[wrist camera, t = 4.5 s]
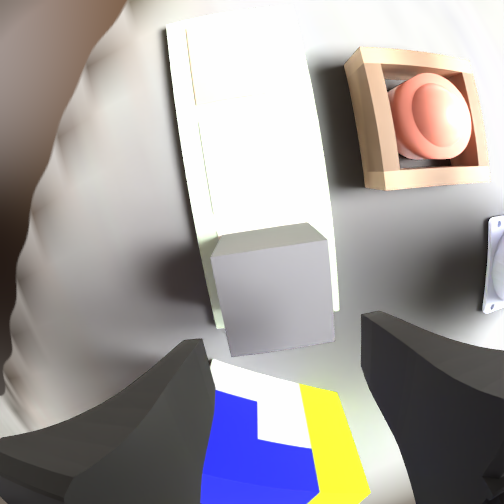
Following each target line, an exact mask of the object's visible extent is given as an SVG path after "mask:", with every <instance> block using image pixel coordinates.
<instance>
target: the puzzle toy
mask: <svg viewBox="0 0 504 504" xmlns="http://www.w3.org/2000/svg"><path fill="white" fill-rule="evenodd" d="M210 369H211V373H212V376H213V380H214V383H215V387H216V391H215V410H214V417H213V422H212V427H211V432H210V437H209V442H208V447H207V452H206V456H205V461H204V467H203V473H202V484H201V499H200V504H358V503H360V502H361V501H362V500H363V499H364V498H366V497H367V496H368V495H369V494H370V493H371V492H370V489H369V486H368V483H367V480H366V476H365V473H364V470H363V467H362V464H361V461H360V458H359V455H358V452H357V449H356V446H355V443H354V440H353V437H352V434H351V431H350V428H349V425H348V422H347V419H346V416H345V414H344V411H343V408H342V405H341V402H340V399H339V396H338V393H337V392H333V391H329V390H324V389H319V388H315V387H311V386H306V385H302V384H298V383H294V382H290V381H286V380H282V379H279V378H275V377H271V376H267V375H264V374H260V373H257V372H253V371H250V370H246V369H243V368H240V367H237V366H233V365H230V364H227V363H224V362H221V361H217V360H214V359H212V362H211V365H210Z"/></svg>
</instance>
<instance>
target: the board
mask: <svg viewBox="0 0 504 504" xmlns="http://www.w3.org/2000/svg"><path fill="white" fill-rule="evenodd" d="M166 29H167V39H168V49H169V58H170V67H171V75H172V83H173V91H174V99H175V106H176V114H177V121H178V128H179V135H180V141H181V148H182V154H183V160H184V167H185V173H186V179H187V184H188V190H189V196H190V202H191V207H192V213H193V218H194V223H195V229H196V234H197V239H198V244H199V249H200V254H201V259H202V264H203V269H204V274H205V279H206V283H207V288H208V293H209V297H210V302H211V306H212V311H213V315H214V320H215V324H216V328H217V329H222V328H225V326H224V321H223V317H222V312H221V307H220V303H219V298H218V293H217V288H216V283H215V278H214V273H213V268H212V263H211V258H210V257H211V255H212V253H213V251H214V249H215V247H216V245H217V244H218V242H219V240H220V238H221V236H222V235H224V234H231V233H237V232H244V231H250V230H257V229H263V228H270V227H277V226H283V225H290V224H297V223H304V222H308V223H310V224H311V225H312V226H313V227H314V228H315V229H316V230H318V231H319V232H320V233H321V234H322V235H323V236H324V237H325V238H326V239H328V248H329V259H330V270H331V283H332V297H333V312H335V311H340V309H339V291H338V277H337V263H336V252H335V241H334V231H333V221H332V212H331V203H330V195H329V187H328V180H327V173H326V166H325V159H324V152H323V146H322V140H321V134H320V128H319V122H318V116H317V111H316V106H315V100H314V95H313V90H312V85H311V80H310V75H309V71H308V66H307V62H306V57H305V53H304V49H303V44H302V40H301V36H300V32H299V28H298V24H297V20H296V17H295V13H294V9H293V5H289V6H273V7H262V8H253V9H244V10H237V11H230V12H224V13H218V14H212V15H207V16H202V17H197V18H193V19H188V20H184V21H180V22H176V23H172V24H168V25H166Z"/></svg>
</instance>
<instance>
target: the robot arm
mask: <svg viewBox="0 0 504 504" xmlns="http://www.w3.org/2000/svg"><path fill="white" fill-rule="evenodd" d="M497 222H498V225H497ZM503 307H504V216H497V217H492V218H491V219H490V220H489V232H488V258H487V271H486V282H485V291H484V299H483V307H482V311H483V312H484V313H486V314H488V313H490V312H493V311H496V310H498V309H501V308H503ZM361 367H362V370H363V373H364V376H365V379H366V381H367V384H368V387H369V389H370V391H371V393H372V395H373V397H374V399H375V401H376V403H377V405H378V407H379V408H380V410H381V412H382V414H383V416H384V418H385V420H386V422H387V424H388V426H389V427H390V429H391V431H392V433H393V435H394V437H395V439H396V442H397V444H398V446H399V449H400V452H401V455H402V457H403V460H404V463H405V466H406V469H407V473H408V476H409V479H410V483H411V486H412V490H413V493H414V497H415V501H416V504H504V351H503V350H495V349H488V348H483V347H478V346H474V345H470V344H466V343H462V342H458V341H455V340H452V339H449V338H446V337H443V336H440V335H437V334H434V333H432V332H429V331H427V330H424V329H422V328H419V327H417V326H415V325H412V324H410V323H408V322H405V321H403V320H401V319H399V318H396V317H394V316H392V315H389V314H387V313H384V312H381V311H375V312H371V313H366V314H361ZM215 391H216V387H215V383H214V380H213V376H212V373H211V369H210V366H209V362H208V358H207V355H206V351H205V347H204V344H203V340H202V339H192V340H184V341H182V342H181V343H180V344H178V345H177V346H176V347H175V348H174V349H173V350H172V351H170V352H169V353H168V354H167V355H166V356H165V357H164V358H162V359H161V360H160V361H159V362H158V363H157V364H156V365H154V366H153V367H152V368H151V369H150V370H149V371H147V372H146V373H145V374H144V375H142V376H141V377H140V378H138V379H137V380H136V381H135V382H133V383H132V384H131V385H129V386H128V387H127V388H125V389H124V390H123V391H121V392H120V393H118V394H117V395H115V396H113V397H112V398H110V399H109V400H107V401H105V402H104V403H102V404H100V405H98V406H97V407H94V408H92V409H90V410H88V411H86V412H84V413H82V414H80V415H78V416H76V417H74V418H71V419H69V420H67V421H64V422H61V423H59V424H56V425H53V426H50V427H47V428H44V429H40V430H37V431H33V432H28V433H24V434H19V435H14V436H9V437H2V438H1V439H0V497H2V499H3V500H4V501H5V502H7V503H8V504H200V499H201V484H202V473H203V467H204V461H205V456H206V452H207V447H208V442H209V437H210V432H211V427H212V422H213V417H214V410H215Z"/></svg>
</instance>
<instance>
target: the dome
mask: <svg viewBox="0 0 504 504" xmlns="http://www.w3.org/2000/svg"><path fill="white" fill-rule="evenodd" d="M388 98H389V103H390V108H391V113H392V119H393V124H394V130H395V136H396V143H397V150H398V153H400V154H401V155H403V156H405V157H407V158H410V159H414V160H425V159H449V158H453V157H455V156H457V155H459V154H460V153H461V152H462V151H463V150H464V149H465V148H466V146H467V144H468V142H469V139H470V135H471V117H470V113H469V109H468V106H467V104H466V102H465V100H464V98H463V96H462V95H461V93H460V92H459V91H458V89H457V88H456V87H455V86H454V85H453V84H452V83H451V82H450V81H448V80H447V79H445V78H444V77H442V76H440V75H437V74H433V73H421V74H418V75H416V76H414V77H413V78H411V79H409V80H407V81H405V82H404V83H402V84H400V85H398V86H396V87H395V88H393V89H391V90H390V91H389V92H388Z"/></svg>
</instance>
